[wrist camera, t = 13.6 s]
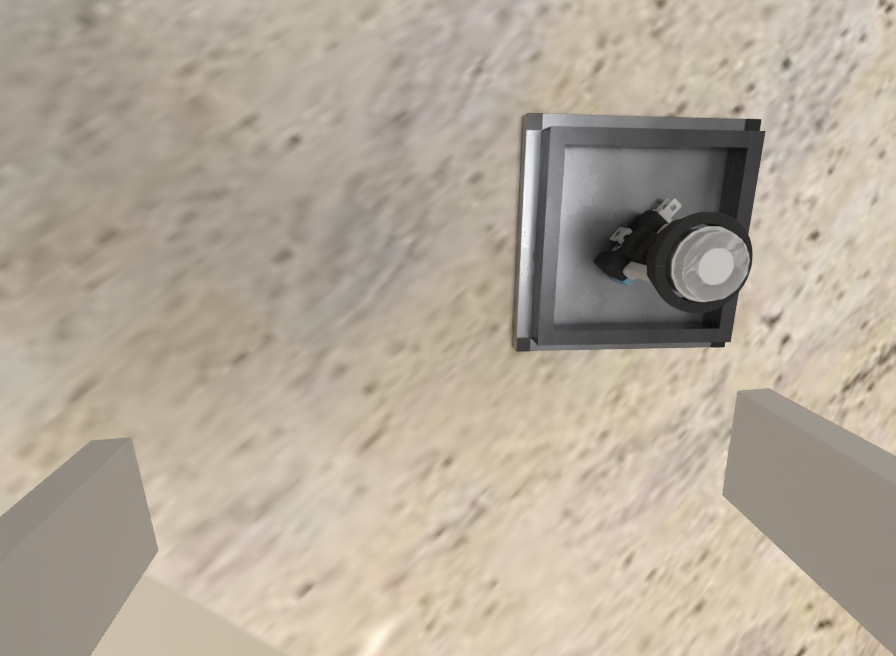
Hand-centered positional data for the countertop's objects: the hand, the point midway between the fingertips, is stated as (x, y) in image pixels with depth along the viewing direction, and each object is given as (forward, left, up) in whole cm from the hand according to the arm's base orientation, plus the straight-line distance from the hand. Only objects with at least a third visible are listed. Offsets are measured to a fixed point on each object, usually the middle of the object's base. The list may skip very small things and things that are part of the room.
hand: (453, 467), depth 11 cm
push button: (-3, +15, -24) cm, 28 cm away
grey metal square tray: (-3, +15, -25) cm, 29 cm away
